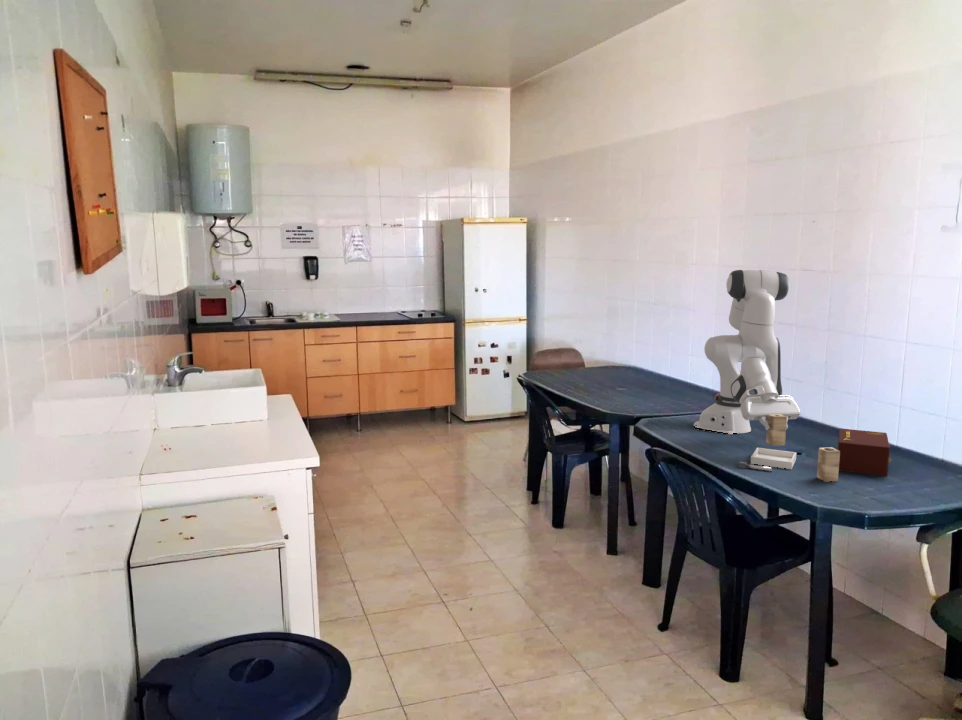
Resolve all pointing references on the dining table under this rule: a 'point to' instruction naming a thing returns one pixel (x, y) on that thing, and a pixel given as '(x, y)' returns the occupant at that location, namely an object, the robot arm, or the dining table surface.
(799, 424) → the dining table surface
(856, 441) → the box
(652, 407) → the dining table surface
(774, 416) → the small-bore block
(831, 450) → the large-bore block
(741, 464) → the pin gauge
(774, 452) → the tray
